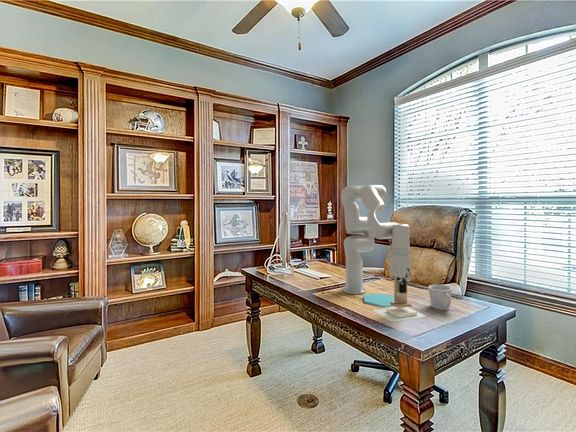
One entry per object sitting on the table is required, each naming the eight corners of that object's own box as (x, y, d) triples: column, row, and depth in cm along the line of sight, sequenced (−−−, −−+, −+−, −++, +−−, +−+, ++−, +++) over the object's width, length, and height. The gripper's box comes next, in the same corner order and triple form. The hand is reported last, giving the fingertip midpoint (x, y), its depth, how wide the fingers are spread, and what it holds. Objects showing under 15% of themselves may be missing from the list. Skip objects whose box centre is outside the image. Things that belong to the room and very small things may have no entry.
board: (372, 311, 152) (372, 310, 152) (404, 306, 157) (404, 305, 157) (390, 322, 138) (390, 321, 138) (426, 317, 143) (426, 316, 143)
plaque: (406, 303, 167) (370, 294, 179) (406, 299, 166) (370, 291, 179) (393, 312, 153) (355, 302, 166) (393, 308, 153) (355, 298, 166)
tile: (386, 308, 150) (398, 314, 141) (404, 305, 153) (417, 311, 144) (386, 311, 150) (398, 318, 141) (404, 309, 153) (417, 315, 144)
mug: (445, 304, 160) (445, 284, 160) (461, 315, 145) (462, 293, 145) (424, 304, 160) (424, 284, 159) (438, 315, 145) (438, 293, 145)
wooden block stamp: (390, 304, 149) (390, 280, 148) (403, 302, 151) (403, 278, 150) (397, 308, 143) (398, 283, 143) (411, 306, 145) (411, 281, 145)
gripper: (383, 249, 152) (383, 288, 153) (404, 255, 137) (404, 297, 138) (397, 248, 155) (397, 286, 156) (419, 253, 139) (419, 295, 140)
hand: (400, 291), depth 147 cm, fingers closed on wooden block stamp
